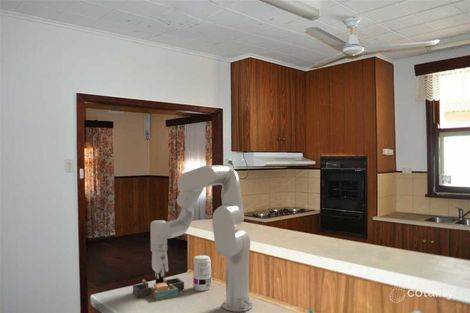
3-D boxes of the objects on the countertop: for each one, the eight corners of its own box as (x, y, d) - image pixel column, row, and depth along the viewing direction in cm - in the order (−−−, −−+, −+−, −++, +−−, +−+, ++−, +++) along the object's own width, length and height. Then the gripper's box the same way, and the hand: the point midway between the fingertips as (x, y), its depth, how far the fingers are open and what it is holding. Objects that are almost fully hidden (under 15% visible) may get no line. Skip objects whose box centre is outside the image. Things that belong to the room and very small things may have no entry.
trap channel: (190, 294, 170) (190, 286, 170) (142, 303, 159) (142, 295, 159) (173, 282, 188) (173, 275, 188) (129, 289, 177) (129, 282, 177)
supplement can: (190, 290, 176) (190, 258, 176) (198, 285, 183) (198, 254, 184) (206, 292, 173) (206, 259, 173) (213, 286, 181) (213, 255, 181)
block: (168, 296, 167) (168, 285, 168) (156, 298, 165) (156, 287, 165) (165, 293, 172) (165, 282, 172) (154, 295, 170) (154, 284, 170)
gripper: (172, 249, 170) (172, 289, 170) (161, 243, 183) (161, 281, 183) (156, 251, 167) (156, 292, 166) (146, 245, 180) (146, 284, 179)
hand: (159, 286), depth 174 cm, fingers closed
